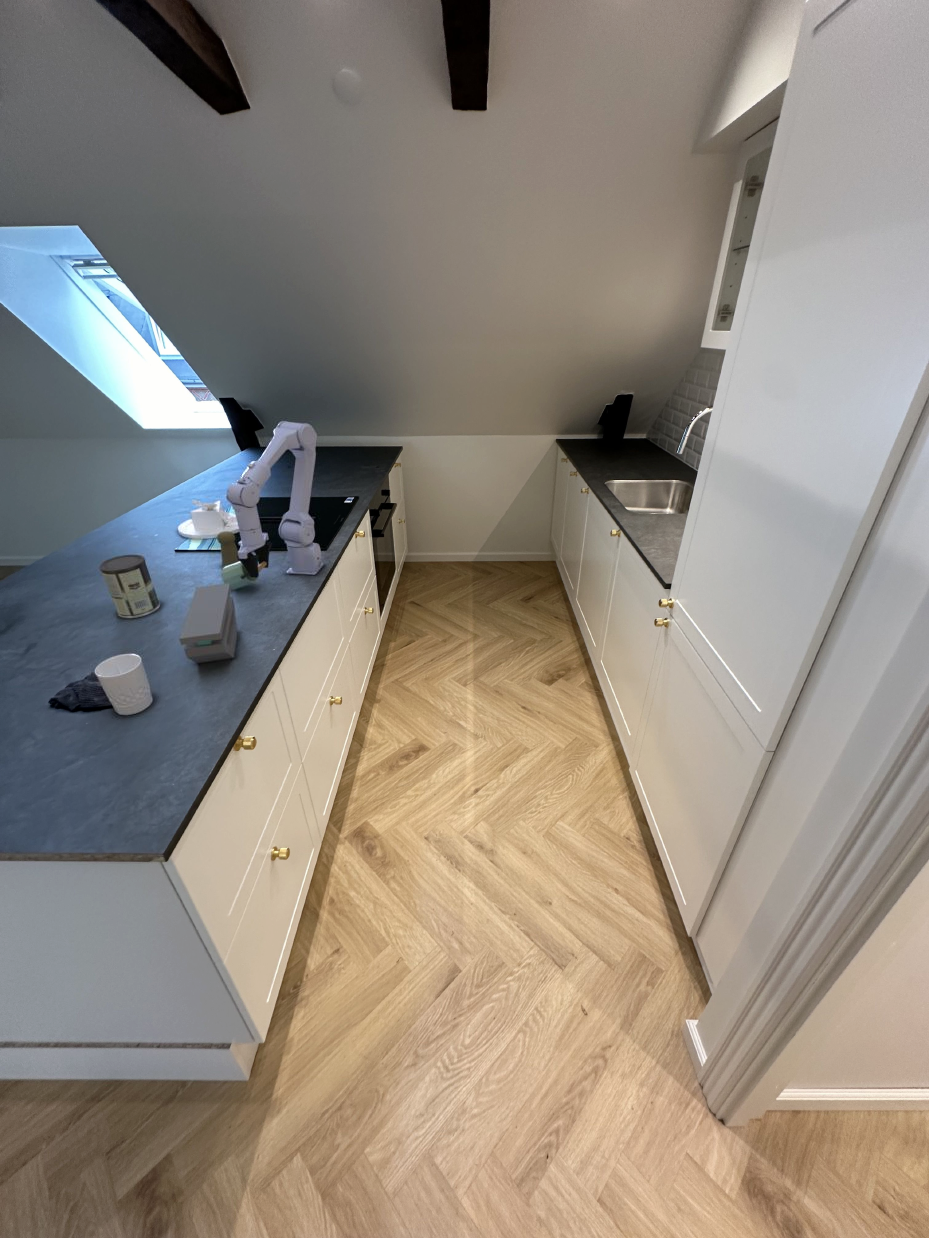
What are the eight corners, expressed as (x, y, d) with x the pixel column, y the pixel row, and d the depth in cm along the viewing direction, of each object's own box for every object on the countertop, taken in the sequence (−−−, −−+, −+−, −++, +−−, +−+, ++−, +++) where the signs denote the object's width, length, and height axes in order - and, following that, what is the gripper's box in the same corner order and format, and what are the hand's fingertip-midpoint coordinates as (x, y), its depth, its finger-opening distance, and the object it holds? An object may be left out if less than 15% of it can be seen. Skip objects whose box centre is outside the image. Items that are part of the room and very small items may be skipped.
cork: (235, 569, 162) (227, 536, 157) (218, 567, 163) (210, 535, 158) (246, 561, 167) (239, 530, 162) (229, 560, 168) (222, 528, 163)
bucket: (243, 582, 154) (274, 571, 152) (230, 594, 147) (262, 583, 144) (230, 562, 151) (261, 550, 148) (216, 573, 144) (248, 562, 141)
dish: (234, 539, 185) (226, 508, 179) (165, 538, 185) (156, 508, 179) (258, 516, 206) (252, 489, 200) (197, 516, 206) (189, 488, 201)
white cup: (124, 693, 108) (107, 654, 103) (162, 691, 109) (148, 652, 104) (104, 718, 101) (85, 678, 96) (145, 716, 102) (129, 676, 97)
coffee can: (140, 598, 145) (124, 552, 138) (168, 603, 142) (153, 557, 135) (108, 615, 137) (88, 567, 130) (137, 621, 134) (119, 572, 127)
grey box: (207, 624, 133) (196, 587, 127) (239, 620, 135) (229, 583, 129) (192, 680, 112) (179, 638, 107) (231, 674, 114) (219, 633, 109)
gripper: (247, 518, 147) (257, 561, 154) (222, 536, 135) (234, 582, 141) (271, 518, 146) (280, 562, 153) (248, 537, 134) (258, 583, 141)
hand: (259, 572), depth 147 cm, fingers closed on bucket, 6 cm apart
